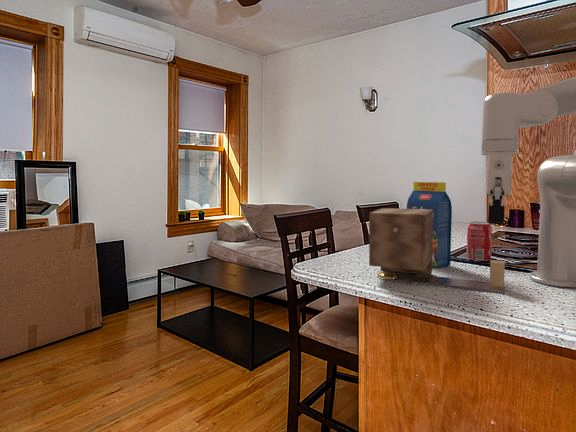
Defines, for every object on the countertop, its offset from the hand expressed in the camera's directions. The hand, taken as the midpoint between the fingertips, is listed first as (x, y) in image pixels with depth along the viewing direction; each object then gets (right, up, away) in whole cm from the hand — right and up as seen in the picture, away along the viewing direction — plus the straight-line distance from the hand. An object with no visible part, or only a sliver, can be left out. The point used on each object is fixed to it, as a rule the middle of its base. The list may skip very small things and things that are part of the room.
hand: (495, 221), depth 96 cm
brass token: (-23, -16, +14) cm, 31 cm away
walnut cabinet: (-19, -15, +14) cm, 28 cm away
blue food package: (-6, -14, +29) cm, 33 cm away
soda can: (+11, -13, +31) cm, 36 cm away
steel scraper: (-7, -16, +6) cm, 19 cm away
